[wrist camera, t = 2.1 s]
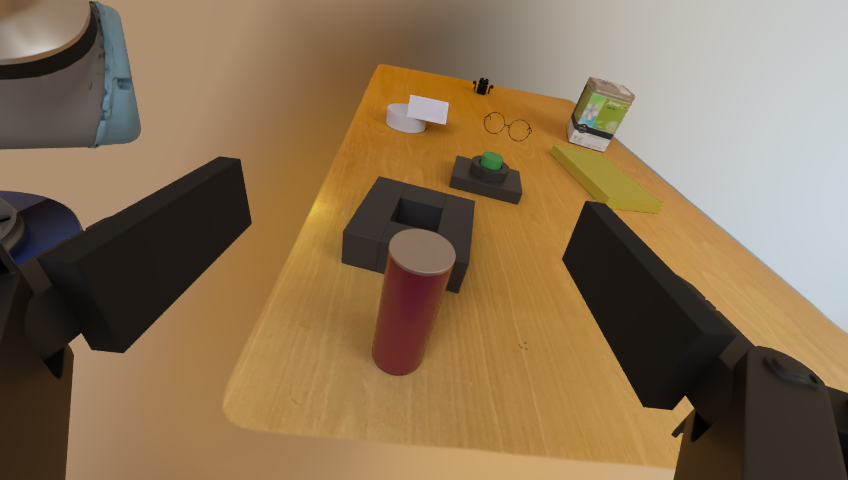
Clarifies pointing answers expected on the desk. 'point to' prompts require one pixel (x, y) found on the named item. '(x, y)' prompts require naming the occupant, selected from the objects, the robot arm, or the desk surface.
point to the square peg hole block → (407, 225)
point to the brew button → (491, 160)
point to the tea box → (598, 113)
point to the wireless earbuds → (482, 86)
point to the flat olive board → (606, 180)
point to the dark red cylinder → (410, 298)
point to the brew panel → (486, 180)
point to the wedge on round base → (416, 114)
